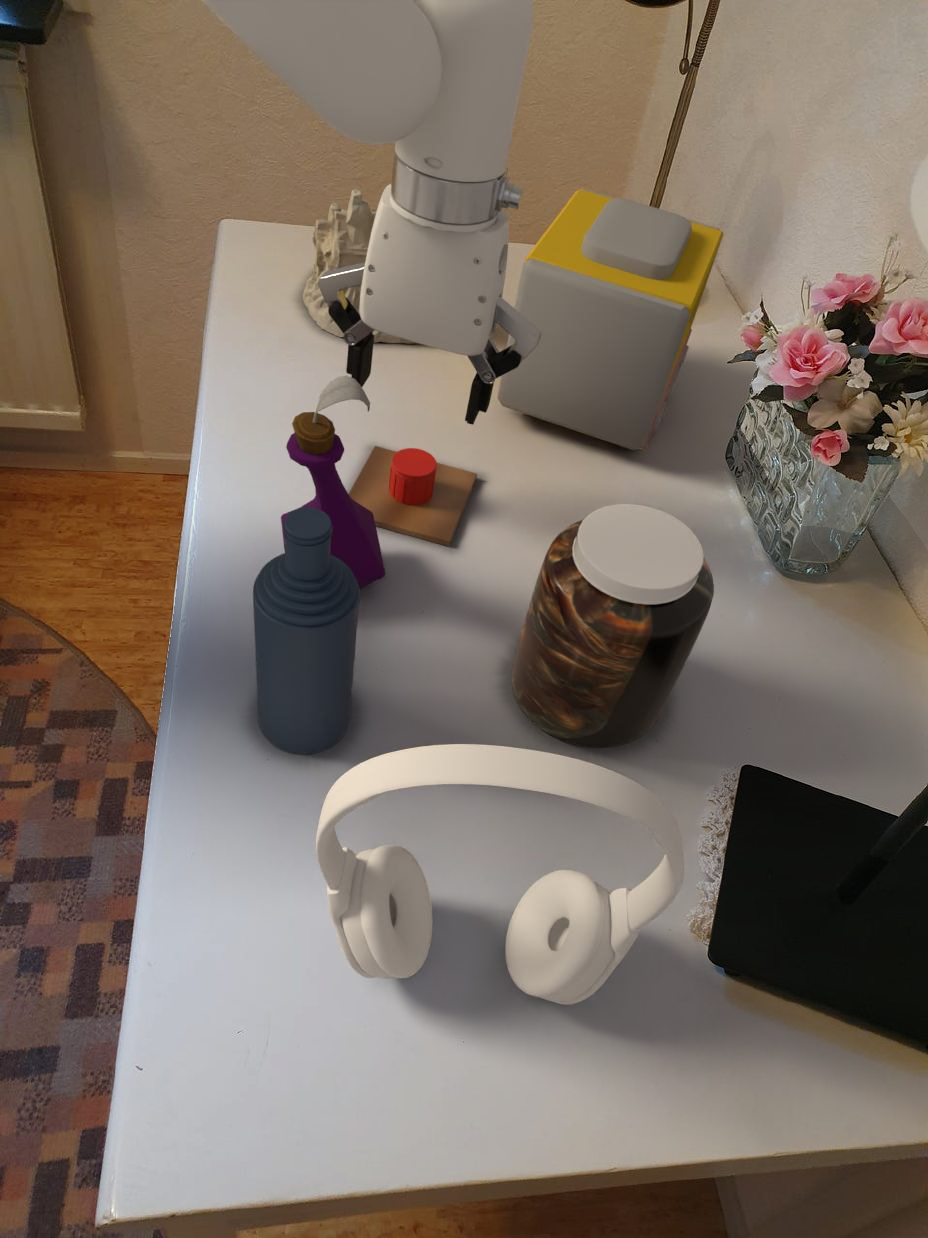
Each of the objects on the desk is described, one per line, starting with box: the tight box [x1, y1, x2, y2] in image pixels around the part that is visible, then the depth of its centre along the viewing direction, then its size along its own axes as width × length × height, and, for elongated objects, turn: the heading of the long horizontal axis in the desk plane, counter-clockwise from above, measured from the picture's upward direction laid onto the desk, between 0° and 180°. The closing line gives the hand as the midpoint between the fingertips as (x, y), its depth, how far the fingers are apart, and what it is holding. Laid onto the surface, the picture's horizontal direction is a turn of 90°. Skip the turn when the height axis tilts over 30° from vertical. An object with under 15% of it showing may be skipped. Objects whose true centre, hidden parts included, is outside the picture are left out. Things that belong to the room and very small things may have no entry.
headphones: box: [315, 743, 685, 1005], centre depth 48 cm, size 7×18×20 cm, turn 85°
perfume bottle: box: [280, 375, 387, 591], centre depth 69 cm, size 8×8×18 cm
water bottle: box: [252, 507, 361, 755], centre depth 59 cm, size 6×6×18 cm
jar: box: [511, 503, 715, 748], centre depth 66 cm, size 12×12×15 cm
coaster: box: [348, 445, 478, 547], centre depth 83 cm, size 10×10×1 cm
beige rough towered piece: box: [301, 189, 417, 345], centre depth 100 cm, size 16×16×15 cm
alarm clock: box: [496, 187, 724, 451], centre depth 91 cm, size 20×16×18 cm
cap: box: [389, 447, 438, 505], centre depth 82 cm, size 4×4×3 cm
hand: (416, 398), depth 76 cm, fingers open, 9 cm apart
